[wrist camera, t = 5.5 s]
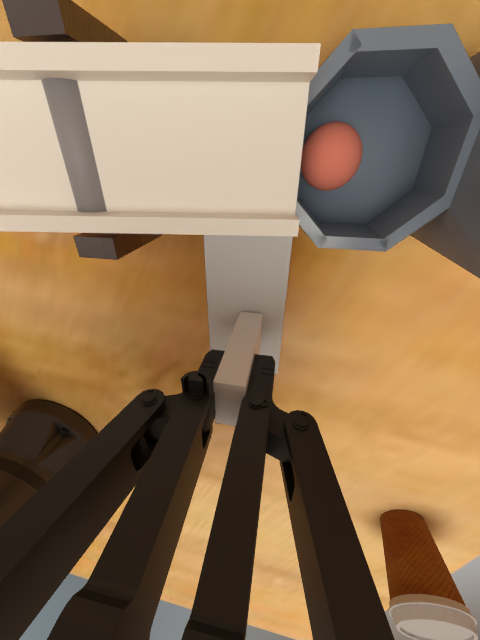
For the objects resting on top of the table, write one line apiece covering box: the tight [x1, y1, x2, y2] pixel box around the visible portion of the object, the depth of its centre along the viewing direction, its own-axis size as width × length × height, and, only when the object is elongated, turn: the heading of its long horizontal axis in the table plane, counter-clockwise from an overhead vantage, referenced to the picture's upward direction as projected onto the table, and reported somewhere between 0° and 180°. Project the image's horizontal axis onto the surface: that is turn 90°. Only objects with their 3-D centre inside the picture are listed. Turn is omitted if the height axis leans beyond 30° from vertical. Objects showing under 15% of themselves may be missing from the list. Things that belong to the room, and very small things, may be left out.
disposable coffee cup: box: [380, 510, 478, 640], centre depth 37 cm, size 10×10×12 cm
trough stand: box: [2, 0, 164, 260], centre depth 17 cm, size 6×11×11 cm, turn 179°
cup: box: [295, 24, 480, 278], centre depth 13 cm, size 12×11×16 cm
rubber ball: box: [300, 121, 363, 191], centre depth 18 cm, size 4×4×4 cm
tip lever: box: [0, 42, 321, 374], centre depth 16 cm, size 22×18×4 cm
